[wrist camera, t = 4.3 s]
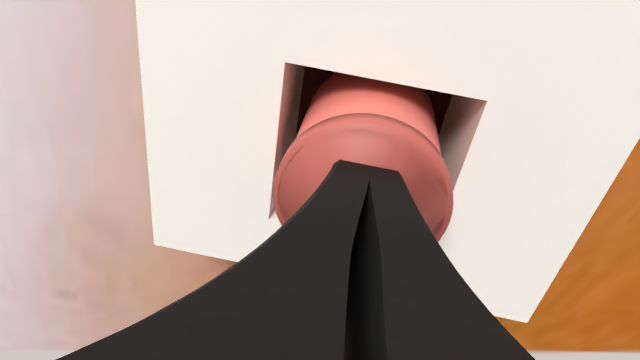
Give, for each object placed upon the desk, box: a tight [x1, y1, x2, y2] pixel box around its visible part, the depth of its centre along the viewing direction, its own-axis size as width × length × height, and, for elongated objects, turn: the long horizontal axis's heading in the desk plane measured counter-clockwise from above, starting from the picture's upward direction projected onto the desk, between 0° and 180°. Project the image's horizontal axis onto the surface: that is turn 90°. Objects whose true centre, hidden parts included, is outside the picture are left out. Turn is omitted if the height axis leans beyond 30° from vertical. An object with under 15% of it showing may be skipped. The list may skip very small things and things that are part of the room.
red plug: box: [273, 72, 453, 242], centre depth 11 cm, size 4×4×4 cm
